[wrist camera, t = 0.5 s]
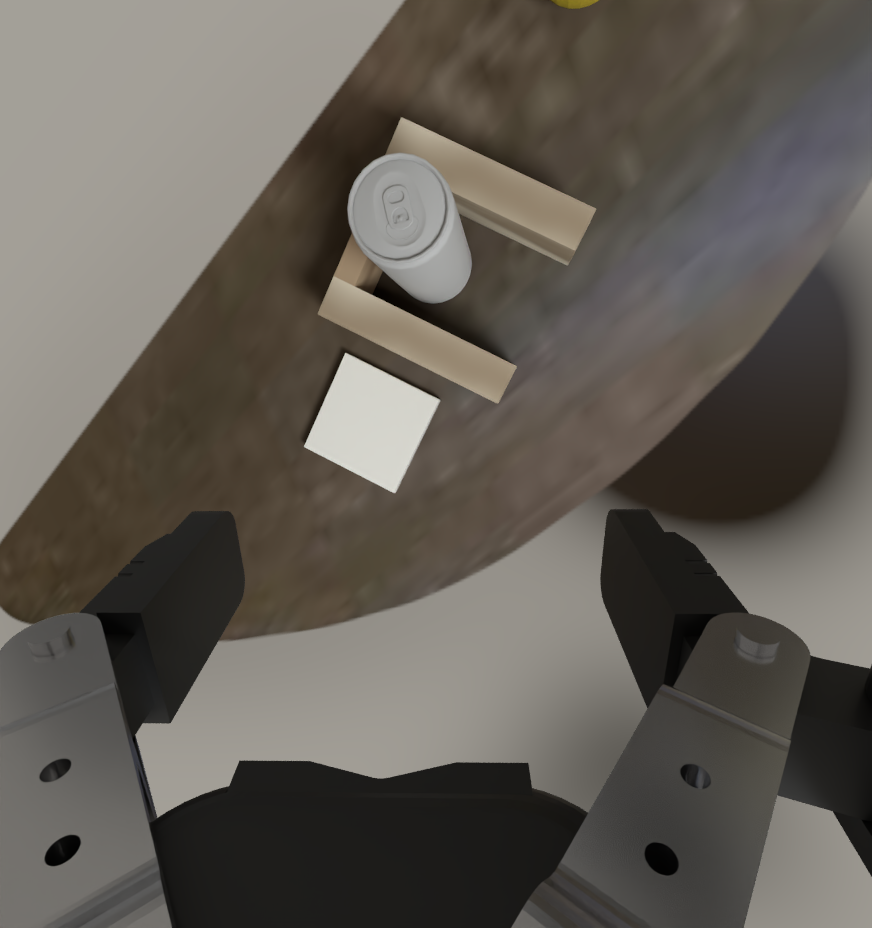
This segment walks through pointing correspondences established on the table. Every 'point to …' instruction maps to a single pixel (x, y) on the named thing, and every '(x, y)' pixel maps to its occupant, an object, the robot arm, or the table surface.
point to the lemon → (574, 3)
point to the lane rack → (484, 201)
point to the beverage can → (410, 226)
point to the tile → (371, 422)
